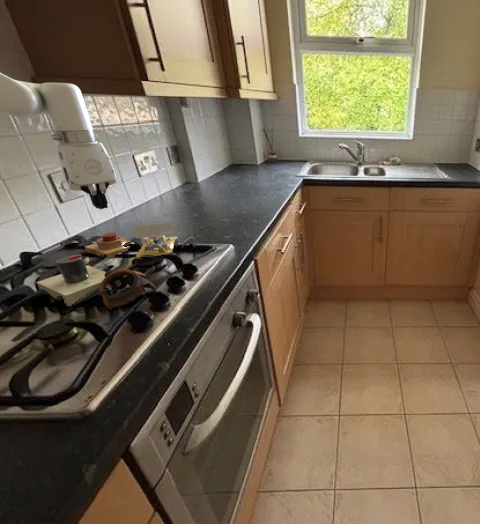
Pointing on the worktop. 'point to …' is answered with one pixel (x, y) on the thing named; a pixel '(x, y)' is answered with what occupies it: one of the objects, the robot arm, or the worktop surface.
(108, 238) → the button
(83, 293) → the panel
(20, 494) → the worktop surface
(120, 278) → the pottery mug
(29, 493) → the worktop surface
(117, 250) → the button block
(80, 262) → the dial
